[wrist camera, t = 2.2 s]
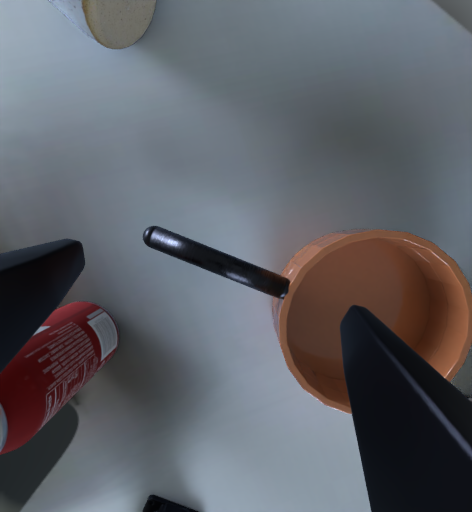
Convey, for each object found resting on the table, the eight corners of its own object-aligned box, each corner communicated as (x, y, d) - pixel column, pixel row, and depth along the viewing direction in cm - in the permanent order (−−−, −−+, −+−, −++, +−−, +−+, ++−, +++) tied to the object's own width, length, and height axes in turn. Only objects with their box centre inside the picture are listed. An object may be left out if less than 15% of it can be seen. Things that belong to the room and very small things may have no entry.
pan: (388, 403, 25) (420, 442, 21) (247, 348, 25) (249, 375, 20) (459, 265, 23) (513, 275, 19) (309, 204, 23) (326, 198, 18)
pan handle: (294, 279, 21) (299, 284, 19) (285, 298, 21) (289, 305, 19) (152, 222, 21) (143, 222, 19) (145, 242, 21) (135, 244, 19)
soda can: (120, 297, 24) (5, 364, 13) (125, 362, 25) (22, 483, 13) (52, 299, 25) (-124, 367, 13) (60, 363, 25) (-100, 484, 13)
